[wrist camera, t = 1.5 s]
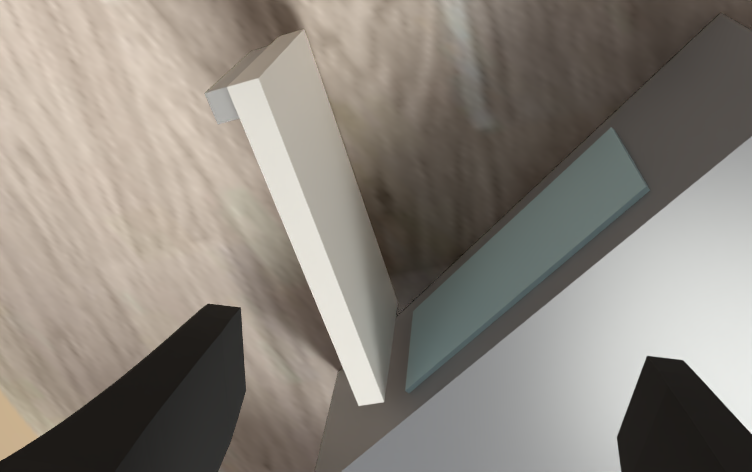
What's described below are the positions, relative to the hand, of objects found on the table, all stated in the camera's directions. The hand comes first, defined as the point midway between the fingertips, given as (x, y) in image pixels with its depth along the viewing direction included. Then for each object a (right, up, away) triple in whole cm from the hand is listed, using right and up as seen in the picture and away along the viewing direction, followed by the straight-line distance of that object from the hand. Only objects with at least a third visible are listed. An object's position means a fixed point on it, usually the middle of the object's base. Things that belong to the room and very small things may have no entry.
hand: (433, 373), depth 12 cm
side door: (-2, +4, +10) cm, 11 cm away
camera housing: (+8, -1, +12) cm, 14 cm away
